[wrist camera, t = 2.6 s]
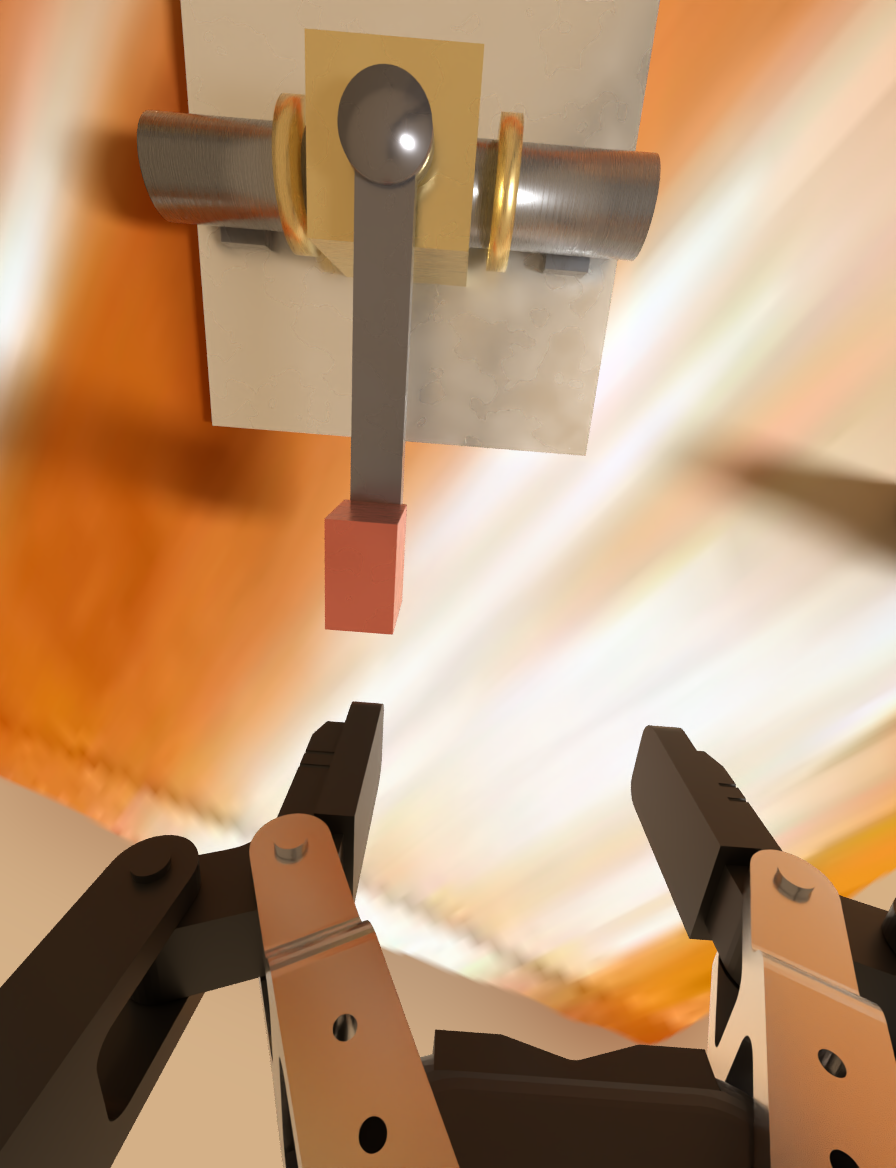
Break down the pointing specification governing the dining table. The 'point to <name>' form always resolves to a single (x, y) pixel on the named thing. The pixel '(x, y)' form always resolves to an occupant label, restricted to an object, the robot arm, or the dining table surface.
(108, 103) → the dining table surface
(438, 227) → the valve
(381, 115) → the lever
